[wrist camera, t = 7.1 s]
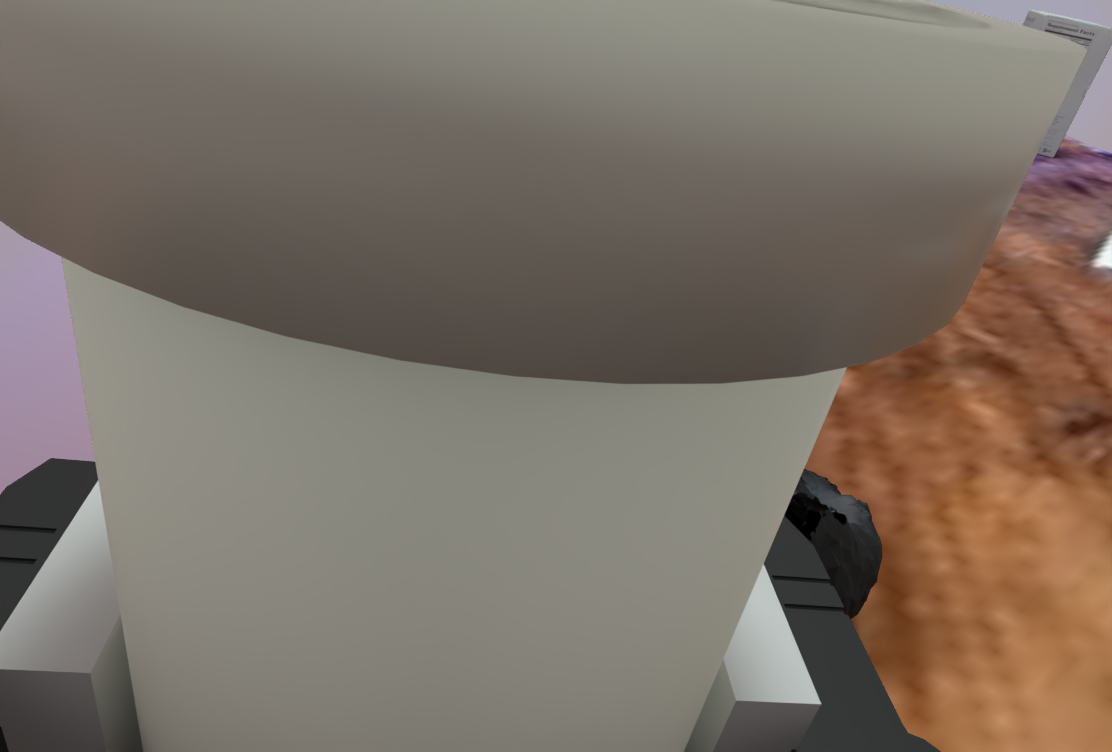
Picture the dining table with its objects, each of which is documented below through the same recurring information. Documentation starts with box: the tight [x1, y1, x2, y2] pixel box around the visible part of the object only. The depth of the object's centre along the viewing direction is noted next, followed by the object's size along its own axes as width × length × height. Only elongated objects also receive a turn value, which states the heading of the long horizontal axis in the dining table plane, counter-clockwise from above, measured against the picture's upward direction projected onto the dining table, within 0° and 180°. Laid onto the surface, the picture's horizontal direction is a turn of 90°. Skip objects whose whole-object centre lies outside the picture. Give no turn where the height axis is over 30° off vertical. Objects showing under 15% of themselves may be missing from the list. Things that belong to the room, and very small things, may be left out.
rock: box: [784, 469, 882, 619], centre depth 24 cm, size 9×10×10 cm
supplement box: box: [1023, 10, 1112, 158], centre depth 109 cm, size 10×9×17 cm
